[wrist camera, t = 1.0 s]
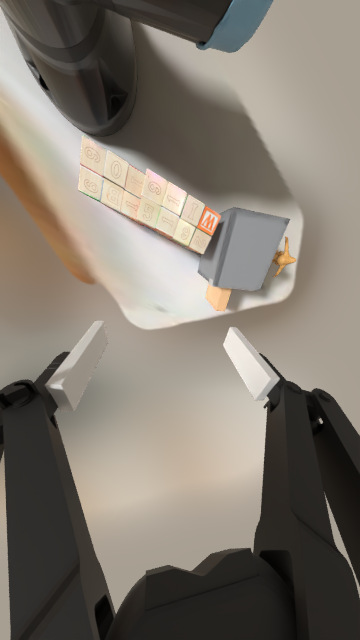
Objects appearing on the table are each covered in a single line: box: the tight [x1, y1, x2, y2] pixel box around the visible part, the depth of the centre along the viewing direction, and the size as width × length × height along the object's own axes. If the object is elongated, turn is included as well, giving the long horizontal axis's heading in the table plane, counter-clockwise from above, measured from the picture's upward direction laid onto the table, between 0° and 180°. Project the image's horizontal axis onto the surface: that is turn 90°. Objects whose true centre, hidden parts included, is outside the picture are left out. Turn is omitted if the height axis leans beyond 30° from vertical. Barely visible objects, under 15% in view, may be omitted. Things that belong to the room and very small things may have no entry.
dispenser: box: [198, 207, 290, 291], centre depth 30 cm, size 12×10×13 cm
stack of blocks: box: [78, 135, 221, 254], centre depth 25 cm, size 21×6×12 cm, turn 65°
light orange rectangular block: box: [206, 284, 232, 311], centre depth 34 cm, size 14×2×9 cm, turn 173°
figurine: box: [271, 237, 296, 277], centre depth 32 cm, size 8×6×12 cm
